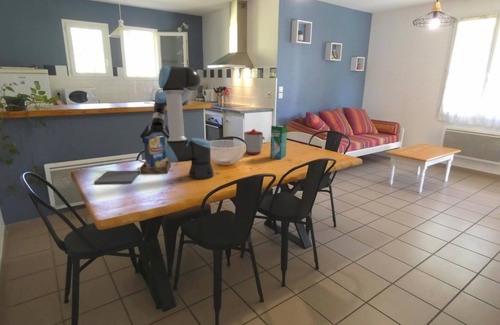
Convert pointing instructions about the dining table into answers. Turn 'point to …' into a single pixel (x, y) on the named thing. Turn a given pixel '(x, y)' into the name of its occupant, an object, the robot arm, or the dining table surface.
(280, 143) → the milk carton
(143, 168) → the walnut holder
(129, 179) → the charcoal mat
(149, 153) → the beverage box
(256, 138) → the citrus juicer
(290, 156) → the dining table surface
